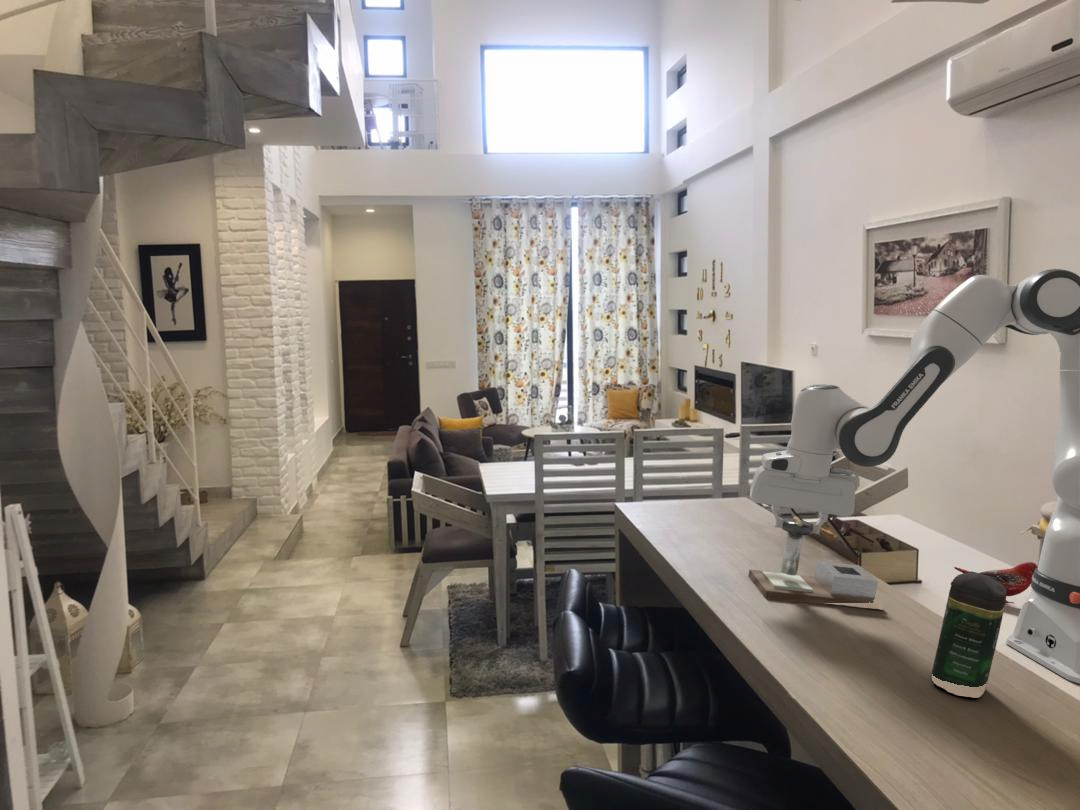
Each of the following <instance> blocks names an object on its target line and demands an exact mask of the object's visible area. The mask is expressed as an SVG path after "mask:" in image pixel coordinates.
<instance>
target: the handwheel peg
mask: <svg viewBox="0 0 1080 810" xmlns="http://www.w3.org/2000/svg"><path fill="white" fill-rule="evenodd" d="M783 520H784V522H783V524H782V525H783V527H782V528H781V530H783V531H785V532H787V533H786V539H785V546H784V551H783V556H782V563H781V569H780V573H784V574H787V575H798V570H799V564H800V559H801V554H802V547H803V541H804V536H810V535H812V534H813V533H812V528H813V525H812V522H811V523H810V522H809V521H806V520H802V519H800V518H799V517H798V516H796V515H795V516H793V518H790V517H788V518H785V517H784V518H783Z"/></svg>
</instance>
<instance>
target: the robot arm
mask: <svg viewBox="0 0 1080 810" xmlns="http://www.w3.org/2000/svg"><path fill="white" fill-rule="evenodd" d="M1003 328H1008V329H1011V330H1013V331H1015V332H1018V333H1020V334H1025V335H1030V336H1034V335H1035V336H1039V335H1047V334H1048V335H1049V334H1050V335H1051V336H1053V338H1054V339H1055V341H1056V343H1057V346H1058V349H1059V352H1060V358H1059V410H1058V412H1059V413H1058V423H1057V428H1056V436H1055V447H1054V453H1053V454H1054V455H1053V466H1052V467H1053V468H1052V469H1053V470H1052V486H1053V490H1054V491H1055V493H1056V495H1057V499H1056V502H1055V505H1054V509H1053V511H1052V513H1051V516H1050V518H1049V522H1048V525H1047V526H1046V530H1045V535H1044V539H1043V543H1042V548H1041V552H1040V556H1039V561H1038V565H1037V567H1038V568H1036V569H1035V571H1034V574H1033V576H1032V583H1031V584H1030V587H1031V592H1030V594H1029V595H1028V597H1027V598H1026V599H1025V600H1024V602H1023V604H1022V606H1021V608H1020V611H1019V614H1018V617H1017V620H1016V622H1015V626H1014V628H1013V632H1012V634H1011V635H1009V636H1007V638H1006V640H1005V644H1006V645H1008V646H1009V647H1011V648H1012V649H1015V650H1017V651H1018V652H1020V653H1021V654H1023V655H1025V656H1026V657H1027V658H1028V657H1029V658H1030V659H1031V660H1034V661H1035V662H1037V663H1039V664H1040V665H1042V666H1044V667H1045V668H1047V669H1049V670H1051V671H1052V672H1053V673H1056V674H1057V675H1059V676H1061V677H1062V678H1064V679H1066V680H1067V681H1069V682H1072V683H1075V684H1080V276H1079V274H1077V273H1075V272H1073V271H1070V270H1067V269H1061V268H1052V269H1046V270H1042V271H1040V272H1038V273H1034V274H1032V275H1029V276H1027V277H1025V278H1024V279H1023V280H1021V281H1019V282H1017V283H1015V284H1013V285H1011V284H1006V283H1004V282H1003V281H1002V280H1000V279H998V278H996V277H994V276H991V275H988V274H976V275H972V276H971V277H968V278H967V279H966V280H965V281H964V282H962V283H961V284H959V285H958V286H956V288H955V289H953V290H952V291H951V292H950V293H948V294H947V295H946V296H945V297H944V298H943V299H942V300H941V301H940V302H939V303H938V304H937V305H936V306H935V307H934V308H933V309H932V310H931V311H930V312H929V314H927V316H926V317H925V318H924V319H923V320H922V322H921V323H920V325H919V326H918V327H917V329H916V331H915V333H914V334H913V336H912V337H911V340H910V356H909V361H908V363H907V366H906V368H905V369H904V371H903V372H902V374H901V375H900V376H899V378H898V379H897V380H896V381H895V382H894V383H893V385H892V386H891V387H890V388H889V389H888V390H887V391H886V392H885V394H884V395H883V396H882V398H880V400H879V401H878V402H876V404H874V405H873V406H872V407H868V406H866V405H864V404H863V403H861V402H858V401H857V400H856V399H854V398H852V397H851V396H850V395H848V394H847V393H846V392H844V391H843V390H842V388H841V387H840V386H837V385H835V384H813V385H808V386H805V387H803V388H802V389H800V391H799V392H798V394H797V397H796V399H795V403H794V407H793V412H792V416H791V421H790V430H791V435H790V438H789V439H788V442H787V445H786V450H781V451H773V452H766V453H764V454H763V455H762V457H761V464H762V465H760V466H759V467H757V469H756V470H755V473H754V475H753V477H752V481H751V484H750V490H749V498H750V499H751V501H752V502H753V503H756V504H762V505H767V506H768V505H769V506H770V508H771V511H772V513H773V516H774V522H773V524H774V525H773V527H775V528H778V529H782V527H783V525H782V524H783V522H784V520H783V519H784V518H783V517H780V516H779V515H778V514H779V513H778V512H780V511H781V508H788V509H790V508H791V509H795V510H803V511H810V512H813V513H814V512H815V513H818V515H819V518H818V520H816V522H811V524H812V525H813V528H812V534H817V535H819V534H820V532H821V528H822V526H823V525H824V524H825V522H827V521H828V520H829V516H830V515H834V516H835V515H836V516H841V517H850V516H851V515H852V514H854V512H855V505H856V504H855V503H856V491H857V490H858V489H859V484H860V478H859V475H858V474H857V473H856V472H854V471H853V470H852V469H843V468H840V467H839V468H837V467H833V466H832V461H833V456H834V451H835V450H840V451H841V453H842V454H843V455H844V457H845V458H846V459H847V460H848V461H849V462H851V463H853V464H855V465H857V466H859V467H866V468H868V467H869V468H870V467H871V468H872V467H878V466H880V465H883V464H885V463H886V462H887V461H890V459H891V458H892V457H893V456H894V454H895V453H896V450H897V449H898V446H899V443H900V440H901V437H902V434H903V432H904V430H905V428H906V427H907V426H908V424H909V423H910V422H911V421H912V419H913V418H914V417H915V416H916V415H917V413H918V412H919V411H920V410H921V409H922V408H923V407H924V406H925V404H926V403H927V402H928V401H929V399H930V398H931V397H933V395H934V394H935V393H936V391H937V390H938V389H939V388H940V387H941V385H943V384H944V382H946V381H947V380H948V379H949V378H950V377H951V376H952V375H954V373H956V372H957V371H958V370H959V369H960V368H961V367H963V366H965V364H966V363H967V362H968V361H969V360H971V358H972V357H973V356H975V354H976V353H977V352H978V351H980V350H981V348H983V346H984V345H986V343H987V342H988V341H989V339H990V338H991V337H992V336H993V335H994V334H996V333H997V332H998V331H1000V330H1001V329H1003Z"/></svg>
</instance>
